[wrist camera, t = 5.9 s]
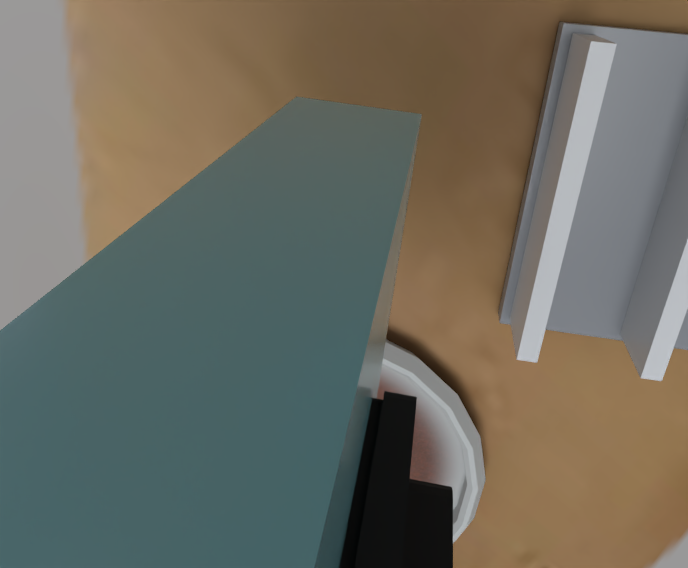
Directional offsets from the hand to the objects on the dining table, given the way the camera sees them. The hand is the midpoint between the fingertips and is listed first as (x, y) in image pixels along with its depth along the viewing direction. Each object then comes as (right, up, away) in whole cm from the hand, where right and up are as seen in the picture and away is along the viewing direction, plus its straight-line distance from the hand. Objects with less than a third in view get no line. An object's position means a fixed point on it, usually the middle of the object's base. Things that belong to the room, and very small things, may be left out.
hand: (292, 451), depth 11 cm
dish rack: (+14, +6, +16) cm, 22 cm away
